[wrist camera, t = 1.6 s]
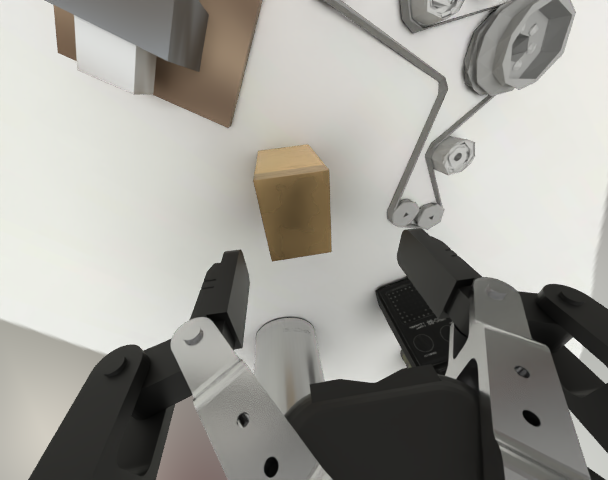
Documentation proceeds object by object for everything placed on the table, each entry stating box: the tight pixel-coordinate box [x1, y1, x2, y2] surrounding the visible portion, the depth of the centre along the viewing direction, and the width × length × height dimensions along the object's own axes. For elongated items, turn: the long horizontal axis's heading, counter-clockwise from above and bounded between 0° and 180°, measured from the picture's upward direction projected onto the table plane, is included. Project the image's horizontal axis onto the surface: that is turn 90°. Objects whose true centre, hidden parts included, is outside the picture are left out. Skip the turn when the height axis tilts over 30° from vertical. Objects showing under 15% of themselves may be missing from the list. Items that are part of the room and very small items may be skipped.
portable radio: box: [376, 278, 452, 376], centre depth 22 cm, size 8×6×25 cm
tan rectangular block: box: [253, 144, 331, 261], centre depth 17 cm, size 6×4×8 cm
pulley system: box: [323, 0, 576, 230], centre depth 17 cm, size 27×5×15 cm
